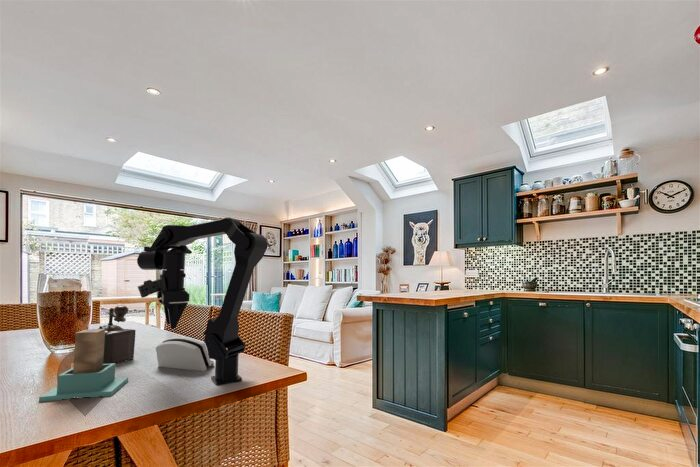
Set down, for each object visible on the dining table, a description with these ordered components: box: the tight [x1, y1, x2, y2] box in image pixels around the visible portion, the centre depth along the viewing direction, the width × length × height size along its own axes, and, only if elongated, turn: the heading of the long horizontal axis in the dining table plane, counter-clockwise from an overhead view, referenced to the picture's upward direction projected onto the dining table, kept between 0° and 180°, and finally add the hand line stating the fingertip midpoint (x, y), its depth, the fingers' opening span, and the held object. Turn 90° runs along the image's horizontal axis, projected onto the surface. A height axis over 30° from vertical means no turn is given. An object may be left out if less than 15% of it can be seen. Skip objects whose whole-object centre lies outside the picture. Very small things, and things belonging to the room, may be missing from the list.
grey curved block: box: [155, 336, 215, 372], centre depth 105 cm, size 17×5×10 cm, turn 72°
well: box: [38, 363, 129, 403], centre depth 86 cm, size 14×11×5 cm
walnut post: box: [72, 328, 105, 374], centre depth 86 cm, size 4×4×13 cm
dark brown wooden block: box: [97, 304, 136, 365], centre depth 112 cm, size 16×11×18 cm
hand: (170, 326), depth 100 cm, fingers open, 9 cm apart
